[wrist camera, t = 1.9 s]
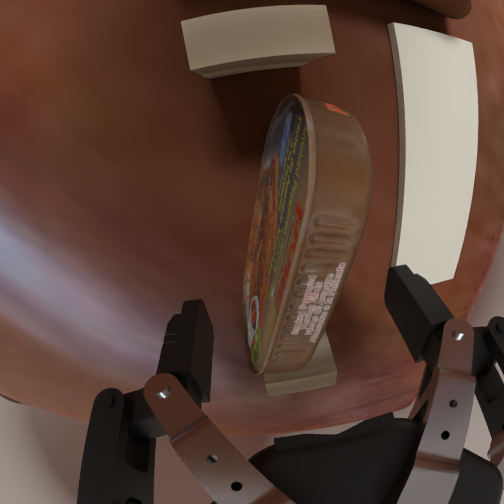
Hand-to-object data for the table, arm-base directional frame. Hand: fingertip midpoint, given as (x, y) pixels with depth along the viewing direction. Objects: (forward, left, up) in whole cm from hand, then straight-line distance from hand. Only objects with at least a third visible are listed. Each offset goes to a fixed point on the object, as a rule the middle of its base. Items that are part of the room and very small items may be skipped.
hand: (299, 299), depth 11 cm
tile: (-2, +12, -7) cm, 14 cm away
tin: (0, 0, -8) cm, 8 cm away
